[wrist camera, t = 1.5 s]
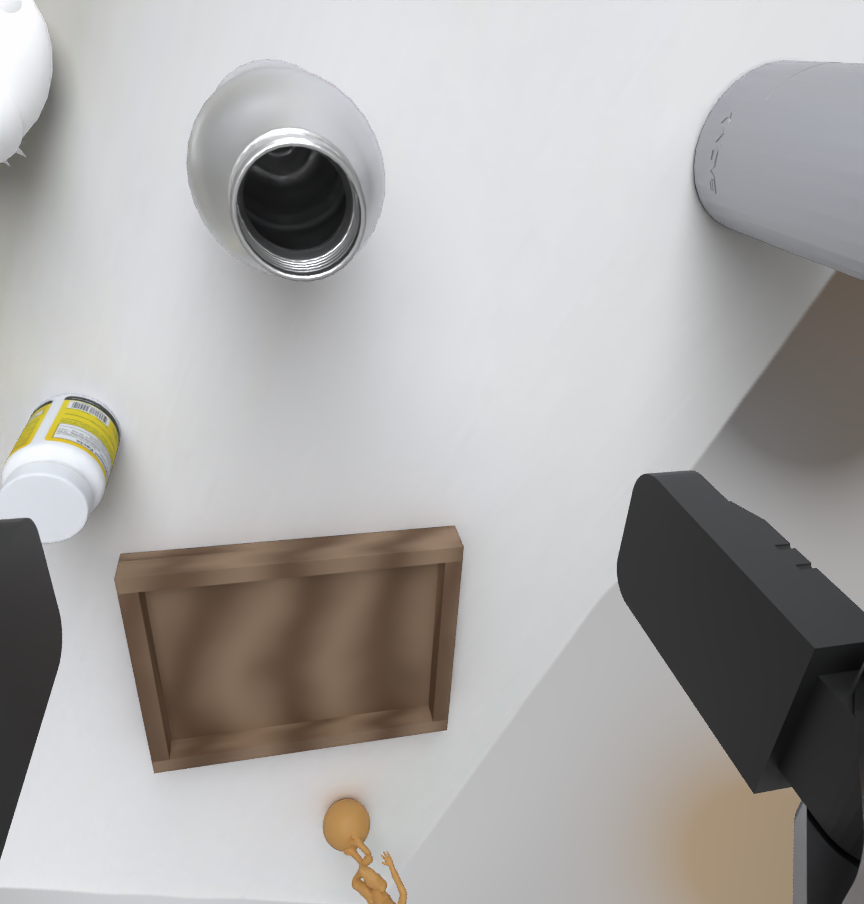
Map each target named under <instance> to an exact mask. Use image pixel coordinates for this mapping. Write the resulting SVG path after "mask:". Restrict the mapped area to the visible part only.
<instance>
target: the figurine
mask: <svg viewBox="0 0 864 904" xmlns="http://www.w3.org/2000/svg"><path fill="white" fill-rule="evenodd" d="M369 829H370V818H369V814H368V812H367V810H366V808H365V807H364V806H363V805H362V804H361V803H360V802H358V801H356V800H353V799H342V800H339V801H337V802H335V803H334V804H333V805H332V806H331V807H330V808H329V809H328V811H327V812H326V814H325V817H324V820H323V833H324V836H325V838H326V840H327V842H328V843H329V844H330V845H331V846H332V847H333V848H334V849H336V850H339V851H343V852H344V853H345V854H346V855H350V856H352V857H353V858H354V859H355V860H356V861H357V862H358V863H359V864H360V865H359V869H358V871H357V873H356V875H355V876H354V877H353V880H352V887H353V888H354V889H355V890H357V891H358V892H359V893H360V894H361V895H362V896H363V897H364V898H365V899H366V900H367V902H368V903H369V904H395V903H394V902H393V901H392V899H391V897H390V895H389V894H387V893H386V891H385V890H386V888H387V883H386V881H385V880H384V879H383V878H382V877H381V876H380V875H379V874H377V873H376V872H375V871H374V870H373V869H371V868H370V867H368V866H367V865H369V864H371V863H372V861H373V858H372V856H371V852H370V850H369V849H368V848H367V847H366V846H365V844H364V843H363V842H364V841H365V839H366V838H367V836H368V833H369ZM357 848H359V849H361V851H362V852H363V853H364V854H365V855H366V856H365V857H364V859H362V858H361V856H360V855H359V854H358V852H357V851H356V849H357ZM383 853H384V855H385V856H386V858H385V857H384V856H383V855H381V856H382V857H383V859H384V860H385V863H384V862H382V863H383V864H384V865H387V866H389V868H390V871H391V874H392V877H393V879H394V881H395V883H396V885H397V888H398V891H399V893H400V897H399V901H398V904H406V899H407V892H406V889H405V887H404V885H403V883H402V881H401V879H400V877H399V875H398V873H397V871H396V869H395V867H394V865H393V861H392V858H391V857H390V855H389V853H388V851H387V854H388V856H387V855H386V853H385V852H383ZM361 878H363V879H364V881H365V882H363V881H362V880H360V879H361Z"/></svg>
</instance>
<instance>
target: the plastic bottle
mask: <svg viewBox="0 0 864 904" xmlns="http://www.w3.org/2000/svg"><path fill="white" fill-rule="evenodd" d="M187 173H188V182H189V187H190V190H191V194H192V197H193V200H194V204H195V206H196V208H197V210H198V212H199V214H200V216H201V218H202V220H203V222H204V224H205V225H206V227H207V228H208V229H209V231H210V232H211V233H212V235H213V236H214V237H215V239H216V240H217V241H218V242H219V243H220V244H221V245H222V246H223V247H224V248H225V249H226V250H227V251H228V252H229V253H230V254H232V255H233V256H234V257H236V258H237V259H239V260H240V261H242V262H244V263H245V264H247V265H248V266H250V267H253V268H255V269H257V270H260V271H262V272H264V273H267V274H272V275H276V276H280V277H282V278H285V279H290V280H294V281H313V280H319V279H323V278H325V277H328V276H330V275H333V274H334V273H336V272H337V271H339V270H340V269H342V268H343V267H344V266H345V265H346V264H347V263H348V262H349V261H350V260H351V259H352V258H353V256H354V255H355V254H356V253H357V252H358V251H359V250H360V249H361V248H362V247H363V246H364V245H365V243H366V242H367V240H368V239H369V237H370V236H371V234H372V233H373V231H374V229H375V227H376V224H377V222H378V219H379V217H380V214H381V211H382V206H383V201H384V196H385V170H384V164H383V158H382V153H381V150H380V147H379V145H378V142H377V139H376V136H375V134H374V132H373V130H372V128H371V126H370V125H369V123H368V121H367V119H366V118H365V116H364V114H363V113H362V112H361V111H360V110H359V108H358V107H357V106H356V105H355V104H354V102H353V101H352V100H351V99H350V98H349V97H348V96H347V95H345V94H344V93H343V92H342V91H341V90H339V89H338V88H337V87H336V86H335V85H333V84H331V83H330V82H328V81H326V80H324V79H322V78H321V77H319V76H317V75H315V74H312V73H309V72H308V71H306V70H304V69H302V68H300V67H298V66H297V65H294V64H291V63H288V62H285V61H281V60H270V59H265V60H258V61H252V62H249V63H247V64H244V65H242V66H239V67H238V68H236V69H235V70H234V71H232V72H231V73H229V74H228V75H227V76H226V77H225V78H224V79H223V81H222V82H221V83H220V84H219V85H218V87H217V89H216V90H215V92H214V93H213V94H212V95H211V96H210V98H209V99H208V100H207V101H206V102H205V103H204V105H203V107H202V108H201V110H200V112H199V114H198V116H197V118H196V119H195V121H194V124H193V128H192V131H191V134H190V138H189V141H188V151H187Z"/></svg>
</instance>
